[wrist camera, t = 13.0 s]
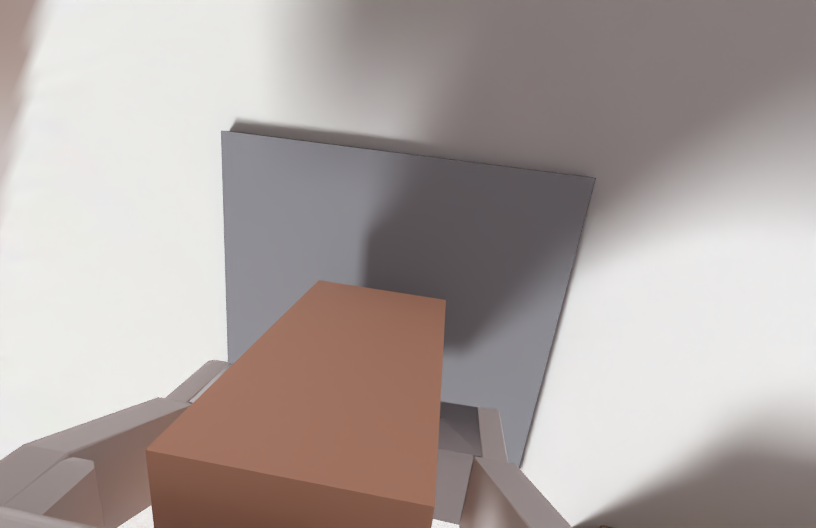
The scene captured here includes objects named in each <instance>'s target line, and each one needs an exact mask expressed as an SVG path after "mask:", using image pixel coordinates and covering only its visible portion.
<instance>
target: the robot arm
mask: <svg viewBox="0 0 816 528" xmlns="http://www.w3.org/2000/svg"><path fill="white" fill-rule="evenodd" d="M233 364H234V363H230V362H224V361H219V360H211V361H208V362H207V363H206V364H204V365H203V366H202V367H201V368H200V369H199V370H197V371H196V372H195V373H194V374H193V375H192V376H190V377H189V378H188V379H187V380H186V381H185V382H183V383H182V384H181V385H180V386H179V387H178V388H176V389H175V390H174V391H173V392H172V393H171V394H169V395H168V396H167V397H166V398H159V397H158V398H155V399H152V400H149V401H147V402H144V403H141V404H138V405H135V406H132V407H129V408H127V409H124V410H121V411H118V412H115V413H112V414H109V415H107V416H104V417H101V418H98V419H95V420H92V421H89V422H87V423H84V424H81V425H78V426H75V427H72V428H69V429H67V430H64V431H61V432H58V433H55V434H52V435H50V436H47V437H44V438H41V439H38V440H35V441H32V442H30V443H27V444H24V445H22V446H21V447H19V448H18V449H16V450H15V451H13V452H12V453H11V454H9V455H8V456H6V457H5V458H3V459H2V460H0V528H117V527H118V526H120V525H121V524H123V523H124V522H126V521H127V520H129V519H130V518H132V517H134V516H135V515H137V514H138V513H140V512H141V511H143V510H144V509H146V508H147V507H149V506H150V505H152V504H151V495H150V487H149V478H148V470H147V461H146V453H145V449H147V448H148V447H149V446H150V445H151V444H152V443H153V442H154V441H155V440H156V439H157V438H158V437H159V436H160V435H161V434H162V433H163V432H164V431H165V430H166V429H167V428H168V427H169V426H170V425H171V424H172V423H173V422H174V421H175V420H176V419H177V418H178V417H179V416H180V415H181V414H182V413H183V412H184V411H185V410H186V409H187V408H188V407H190V406H191V405H192V404H193V403H194V402H195V401H196V400H197V399H198V398H199V397H200V396H201V395H202V394H203V393H204V392H205V391H206V390H207V389H208V388H209V387H210V386H211V385H212V384H213V383H214V382H215V381H216V380H217V379H218V378H219V377H220V376H221V375H222V374H223V373H224V372H225V371H226V370H227V369H228V368H229V367H230V366H231V365H233ZM433 519H437V520H441V521H445V522H450V523H454V524H458V525H460V526H459V527H460V528H572V527H571V526H570V525H569V524H568V522H567V521H566V520H565V519H564V518H563V517H562V516H561V515H560V513H559V512H558V511H557V510H556V509H555V508H554V507H553V506H552V505H551V503H550V502H549V501H548V500H547V499H546V498H545V497H544V496H543V495H542V493H541V492H540V491H539V490H538V489H537V488H536V487H535V486H534V485H533V483H532V482H531V481H530V480H529V479H528V478H527V477H526V476H525V475H524V473H523V472H522V471H521V470H520V469H519V468H518V467H517V466H516V465H515V464H513V463H508V458H507V452H506V447H505V441H504V435H503V430H502V424H501V418H500V413H499V411H498V410H497V409H491V408H484V407H473V406H467V405H461V404H455V403H449V402H444V401H440V420H439V438H438V457H437V475H436V494H435V509H434V514H433Z"/></svg>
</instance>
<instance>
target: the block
mask: <svg viewBox="0 0 816 528" xmlns="http://www.w3.org/2000/svg"><path fill="white" fill-rule="evenodd" d="M445 309H446V300H443V299H437V298H430V297H424V296H417V295H411V294H405V293H398V292H392V291H385V290H379V289H372V288H366V287H360V286H353V285H347V284H340V283H334V282H327V281H321V280H319V281H317V282H316V283H315V284H314V285H313V286H312V287H311V288H310V289H309V290H308V291H307V292H306V293H305V294H304V295H303V296H302V297H301V298H300V299H299V300H298V301H297V302H296V303H295V304H294V305H293V306H292V307H291V308H290V309H289V310H288V311H287V312H286V313H285V314H284V315H283V316H282V317H281V318H280V319H279V320H278V321H277V322H276V323H274V324H273V325H272V326H271V327H270V328H269V329H268V330H267V331H266V332H265V333H264V334H263V335H262V336H261V337H260V338H259V339H258V340H257V341H256V342H255V343H254V344H253V345H252V346H251V347H250V348H249V349H248V350H247V351H246V352H245V353H244V354H243V355H242V356H241V357H240V358H239V359H238V360H237V361H236V362H235V363H234V364H233V365H231V366H230V367H229V368H228V369H227V370H226V371H225V372H224V373H223V374H222V375H221V376H220V377H219V378H218V379H217V380H216V381H215V382H214V383H213V384H212V385H211V386H210V387H209V388H208V389H207V390H206V391H205V392H204V393H203V394H202V395H201V396H200V397H199V398H198V399H197V400H196V401H195V402H194V403H193V404H192V405H191V406H190V407H188V408H187V409H186V410H185V411H184V412H183V413H182V414H181V415H180V416H179V417H178V418H177V419H176V420H175V421H174V422H173V423H172V424H171V425H170V426H169V427H168V428H167V429H166V430H165V431H164V432H163V433H162V434H161V435H160V436H159V437H158V438H157V439H156V440H155V441H154V442H153V443H152V444H151V445H150V446H149V447H148V448H147V449H145V453H146V461H147V470H148V478H149V487H150V495H151V504H152V512H153V521H154V528H431V525H432V519H433V514H434V509H435V494H436V475H437V457H438V438H439V420H440V401H441V383H442V364H443V346H444V327H445Z"/></svg>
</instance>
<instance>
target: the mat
mask: <svg viewBox="0 0 816 528" xmlns="http://www.w3.org/2000/svg"><path fill="white" fill-rule="evenodd" d="M221 145H222V178H223V211H224V244H225V277H226V310H227V343H228V362H230V363H235V362H236V361H237V360H238V359H239V358H240V357H241V356H242V355H243V354H244V353H245V352H246V351H247V350H248V349H249V348H250V347H251V346H252V345H253V344H254V343H255V342H256V341H257V340H258V339H259V338H260V337H261V336H262V335H263V334H264V333H265V332H266V331H267V330H268V329H269V328H270V327H271V326H272V325H273V324H274V323H276V322H277V321H278V320H279V319H280V318H281V317H282V316H283V315H284V314H285V313H286V312H287V311H288V310H289V309H290V308H291V307H292V306H293V305H294V304H295V303H296V302H297V301H298V300H299V299H300V298H301V297H302V296H303V295H304V294H305V293H306V292H307V291H308V290H309V289H310V288H311V287H312V286H313V285H314V284H315V283H316V282H317V281H319V280H321V281H327V282H334V283H340V284H347V285H353V286H360V287H366V288H372V289H379V290H385V291H392V292H398V293H405V294H411V295H417V296H424V297H430V298H437V299H443V300H446V309H445V327H444V346H443V364H442V383H441V401H444V402H449V403H455V404H461V405H467V406H473V407H484V408H491V409H497V410H498V411H499V413H500V418H501V424H502V430H503V435H504V441H505V447H506V452H507V458H508V463H513V464H515V465H516V466H517V467H518V468H519V466H520V462H521V458H522V454H523V450H524V447H525V443H526V439H527V435H528V432H529V428H530V424H531V420H532V417H533V413H534V409H535V405H536V401H537V398H538V394H539V390H540V386H541V383H542V379H543V375H544V371H545V367H546V364H547V360H548V356H549V352H550V349H551V345H552V341H553V337H554V334H555V330H556V326H557V322H558V318H559V315H560V311H561V307H562V303H563V300H564V296H565V292H566V288H567V284H568V281H569V277H570V273H571V269H572V266H573V262H574V258H575V254H576V251H577V247H578V243H579V239H580V235H581V232H582V228H583V224H584V220H585V217H586V213H587V209H588V205H589V201H590V198H591V194H592V190H593V186H594V183H595V179H596V178H592V177H584V176H576V175H568V174H560V173H553V172H545V171H537V170H529V169H521V168H513V167H505V166H498V165H490V164H482V163H474V162H466V161H458V160H450V159H443V158H435V157H427V156H419V155H411V154H403V153H396V152H388V151H380V150H372V149H364V148H356V147H348V146H341V145H333V144H325V143H317V142H309V141H301V140H293V139H286V138H278V137H270V136H262V135H254V134H246V133H238V132H231V131H221Z"/></svg>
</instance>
